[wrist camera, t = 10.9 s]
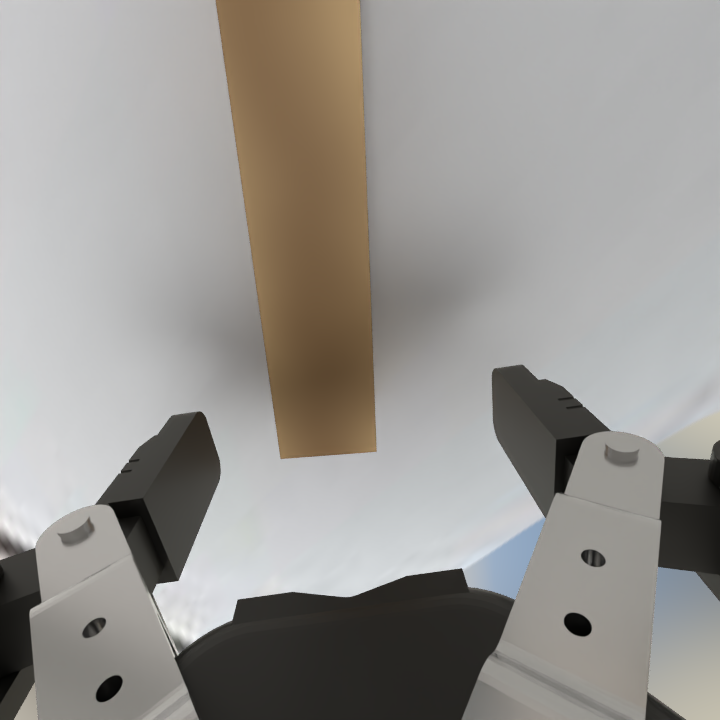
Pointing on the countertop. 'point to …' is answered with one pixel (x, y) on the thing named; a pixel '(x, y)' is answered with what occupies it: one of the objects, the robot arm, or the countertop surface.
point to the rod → (306, 212)
